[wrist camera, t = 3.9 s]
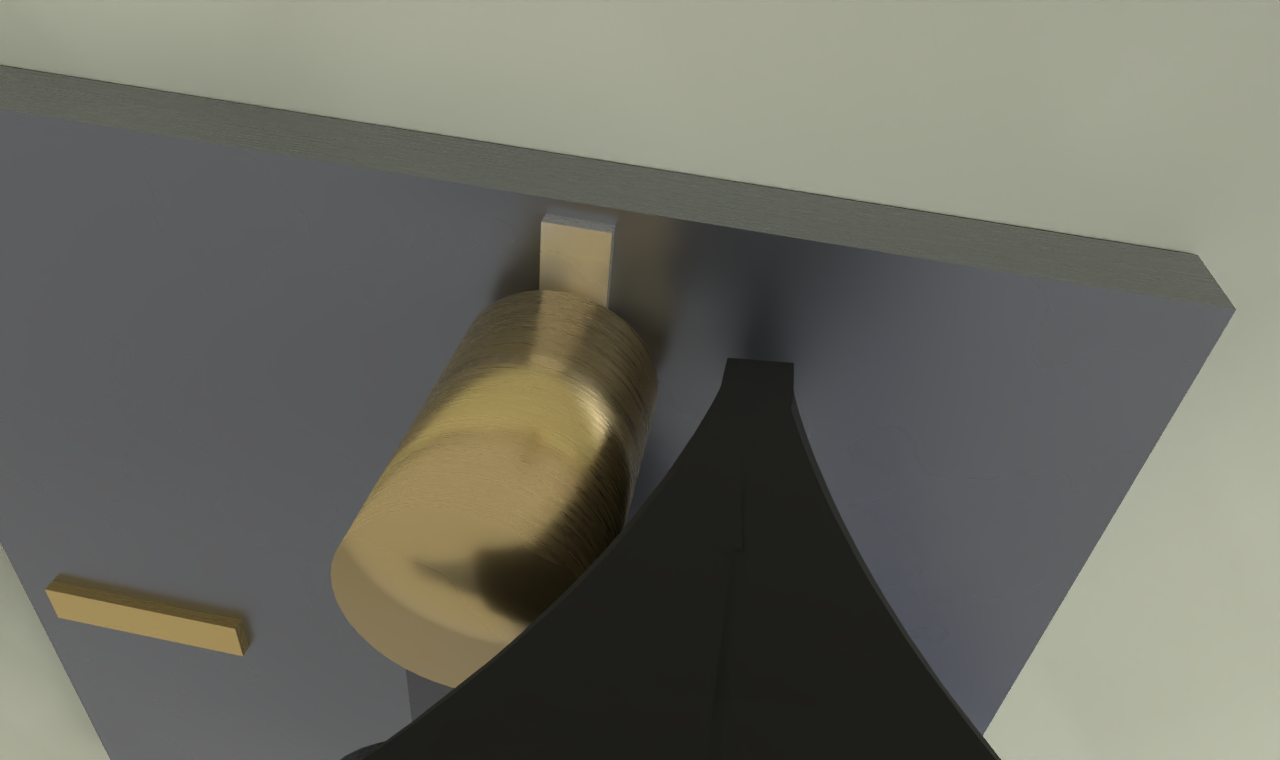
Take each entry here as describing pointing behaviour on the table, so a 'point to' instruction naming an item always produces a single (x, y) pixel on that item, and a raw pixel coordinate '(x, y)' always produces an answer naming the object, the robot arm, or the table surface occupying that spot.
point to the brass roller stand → (498, 488)
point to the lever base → (426, 340)
